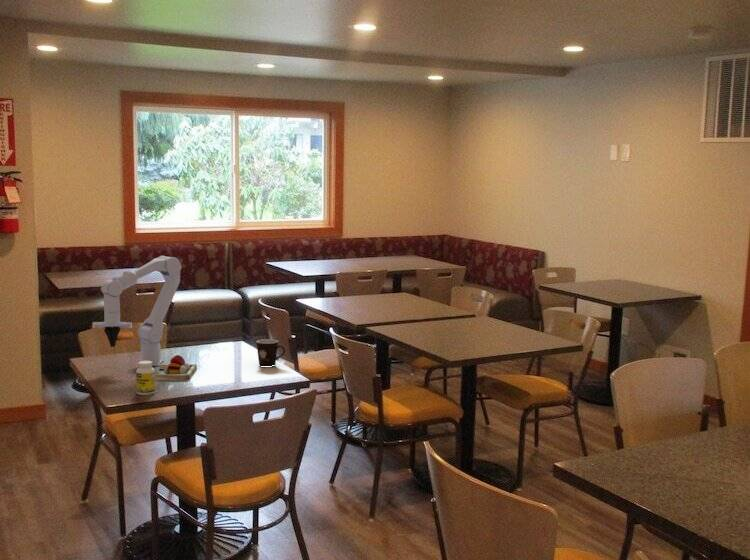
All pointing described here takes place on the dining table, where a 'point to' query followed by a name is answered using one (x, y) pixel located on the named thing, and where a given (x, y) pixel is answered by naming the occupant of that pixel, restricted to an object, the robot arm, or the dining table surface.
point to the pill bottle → (145, 378)
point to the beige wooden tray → (176, 376)
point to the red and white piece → (177, 366)
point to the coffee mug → (268, 351)
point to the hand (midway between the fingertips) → (112, 346)
